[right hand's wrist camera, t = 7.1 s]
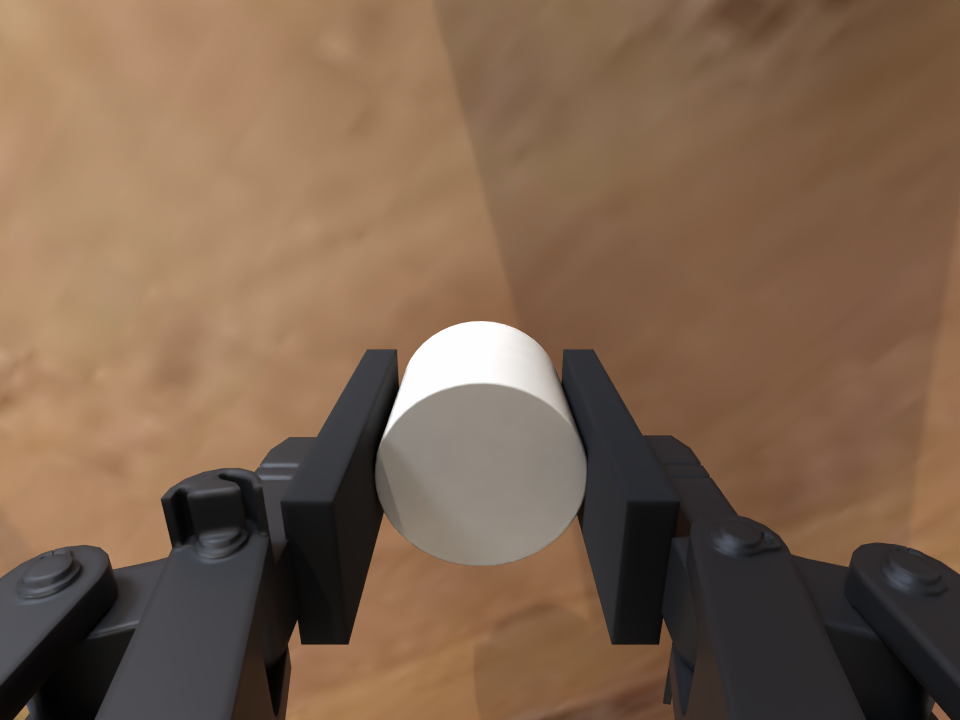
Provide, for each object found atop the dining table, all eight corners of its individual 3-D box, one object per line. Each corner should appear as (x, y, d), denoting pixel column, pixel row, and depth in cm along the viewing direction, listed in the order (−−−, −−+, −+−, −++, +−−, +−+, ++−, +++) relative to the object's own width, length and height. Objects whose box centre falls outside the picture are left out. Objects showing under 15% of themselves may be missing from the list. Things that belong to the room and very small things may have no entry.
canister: (389, 329, 14) (356, 393, 10) (555, 312, 14) (584, 371, 10) (413, 473, 16) (392, 575, 12) (564, 459, 15) (592, 558, 12)
